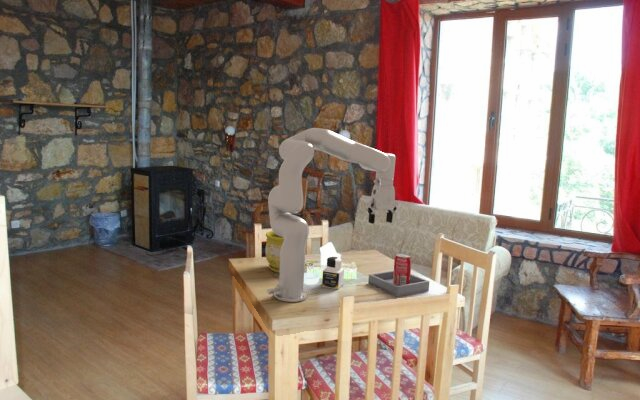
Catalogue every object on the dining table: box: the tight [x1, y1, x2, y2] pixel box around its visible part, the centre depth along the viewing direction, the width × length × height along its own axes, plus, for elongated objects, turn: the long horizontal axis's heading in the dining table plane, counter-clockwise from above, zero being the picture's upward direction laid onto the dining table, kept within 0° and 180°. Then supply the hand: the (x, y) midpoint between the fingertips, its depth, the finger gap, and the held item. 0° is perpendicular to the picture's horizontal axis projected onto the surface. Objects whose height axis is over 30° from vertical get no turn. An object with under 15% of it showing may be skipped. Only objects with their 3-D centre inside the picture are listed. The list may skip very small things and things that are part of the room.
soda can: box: [393, 252, 413, 286], centre depth 217 cm, size 7×7×13 cm
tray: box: [367, 270, 430, 298], centre depth 218 cm, size 18×18×4 cm
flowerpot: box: [264, 230, 284, 274], centre depth 232 cm, size 18×18×16 cm
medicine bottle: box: [321, 256, 345, 290], centre depth 214 cm, size 7×7×12 cm
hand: (380, 222), depth 218 cm, fingers open, 9 cm apart
